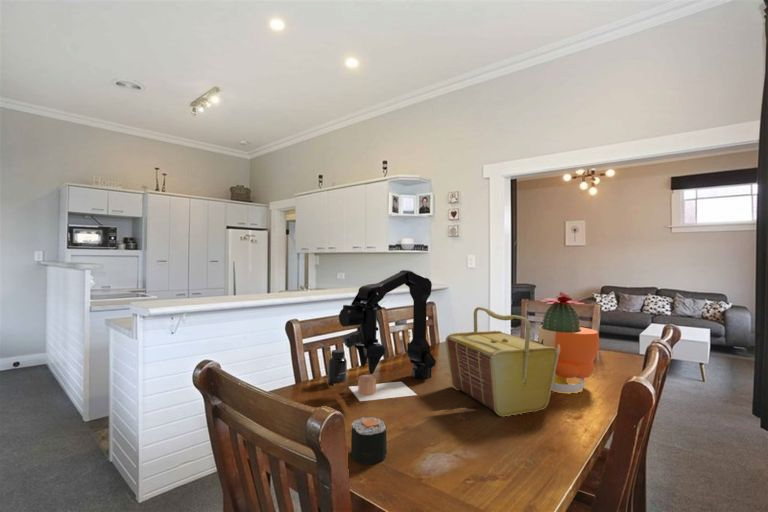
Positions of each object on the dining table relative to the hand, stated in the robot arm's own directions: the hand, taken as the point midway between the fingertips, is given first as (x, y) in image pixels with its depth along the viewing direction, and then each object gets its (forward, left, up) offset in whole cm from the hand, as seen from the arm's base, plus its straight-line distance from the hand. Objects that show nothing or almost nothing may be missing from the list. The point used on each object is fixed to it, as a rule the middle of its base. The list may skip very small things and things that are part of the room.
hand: (366, 369), depth 130 cm
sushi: (+11, +36, -9) cm, 39 cm away
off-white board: (-6, 0, -9) cm, 11 cm away
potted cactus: (-77, +10, -9) cm, 78 cm away
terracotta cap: (0, 0, -8) cm, 8 cm away
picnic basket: (-42, +15, -9) cm, 45 cm away
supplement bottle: (+6, -16, -9) cm, 20 cm away
